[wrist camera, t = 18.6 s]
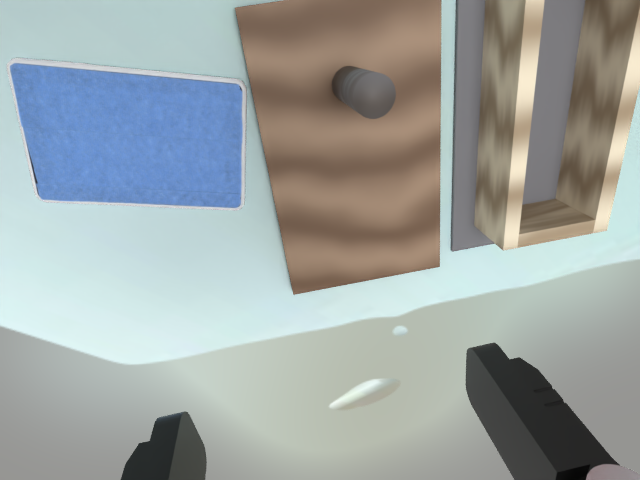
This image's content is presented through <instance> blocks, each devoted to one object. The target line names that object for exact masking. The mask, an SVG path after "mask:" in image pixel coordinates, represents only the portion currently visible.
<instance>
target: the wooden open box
mask: <svg viewBox="0 0 640 480" xmlns="http://www.w3.org/2000/svg"><path fill="white" fill-rule="evenodd" d="M544 1H545V0H485V17H484V37H483V57H482V77H481V98H480V118H479V138H478V158H477V178H476V199H475V219H474V226H475V227H476V228H477V229H479V230H480V231H481V232H482V233H483V234H484V235H486V236H487V237H488V238H489V239H490V240H491V241H493V242H494V243H495V244H496V245H497V246H498V247H500V248H501V249H502V250H508V249H513V248H519V247H524V246H529V245H534V244H539V243H545V242H550V241H555V240H560V239H565V238H571V237H576V236H581V235H586V234H591V233H597V232H602V231H607V228H608V223H609V219H610V214H611V210H612V205H613V201H614V197H615V192H616V188H617V183H618V179H619V174H620V170H621V165H622V161H623V157H624V152H625V148H626V143H627V139H628V134H629V130H630V126H631V121H632V117H633V112H634V108H635V103H636V99H637V94H638V90H639V86H640V0H585V6H584V13H583V20H582V26H581V33H580V39H579V46H578V53H577V59H576V66H575V73H574V79H573V86H572V92H571V99H570V106H569V112H568V119H567V126H566V132H565V139H564V145H563V152H562V159H561V165H560V172H559V179H558V185H557V192H556V198H555V199H551V200H546V201H540V202H535V203H530V204H524V205H522V202H523V193H524V184H525V174H526V165H527V156H528V147H529V138H530V129H531V120H532V111H533V101H534V92H535V83H536V74H537V65H538V56H539V47H540V38H541V28H542V19H543V10H544Z"/></svg>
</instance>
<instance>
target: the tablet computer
mask: <svg viewBox="0 0 640 480" xmlns="http://www.w3.org/2000/svg"><path fill="white" fill-rule="evenodd" d="M7 72H8V77H9V80H10V86H11V90H12V94H13V98H14V103H15V108H16V112H17V116H18V121H19V125H20V130H21V134H22V139H23V143H24V148H25V153H26V157H27V161H28V166H29V171H30V175H31V179H32V184H33V188H34V193H35V195H36V197H37V198H38V199H40V200H42V201H44V202H50V203H74V204H98V205H121V206H142V207H165V208H188V209H213V210H239V209H241V208H242V207H243V206H244V204H245V172H246V120H247V88H246V85H245V84H244V82H243V81H241V80H239V79H236V78H226V77H215V76H205V75H194V74H184V73H174V72H163V71H153V70H143V69H132V68H122V67H112V66H101V65H91V64H86V63H74V62H66V61H53V60H39V59H28V58H13V59H11V60H10V61H9V62H8V64H7Z"/></svg>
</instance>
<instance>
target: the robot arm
mask: <svg viewBox="0 0 640 480" xmlns="http://www.w3.org/2000/svg"><path fill="white" fill-rule="evenodd" d="M466 390H467V394H468V397H469V400H470V402H471V405H472V407H473V408H474V410H475V412H476V414H477V416H478V417H479V419H480V421H481V422H482V424H483V426H484V428H485V429H486V431H487V433H488V434H489V436H490V438H491V440H492V442H493V443H494V445H495V447H496V448H497V450H498V452H499V454H500V455H501V457H502V459H503V461H504V462H505V464H506V466H507V468H508V469H509V471H510V473H511V474H512V476H513V478H514V480H640V474H638V473H637V472H635V471H633V470H631V469H628V468H625V467H623V466H620V465H619V464H618V463H617V462H616V461H615V460H614V459H613V458H612V457H611V456H610V455H609V454H608V453H607V452H606V451H605V449H604V448H603V447H602V446H601V444H600V443H599V442H598V441H597V440H596V438H595V437H594V436H593V435H592V434H591V432H590V431H589V430H588V429H587V428H586V426H585V425H584V424H583V423H582V422H581V421H580V419H579V418H578V417H577V416H576V414H575V413H574V412H573V411H572V410H571V408H570V407H569V406H568V405H567V404H566V403H564V402H563V399H562V398H561V397H560V395H559V394H558V393H557V392H556V391H555V389H552V386H551V384H550V383H549V382H548V381H547V380H546V379H545V377H544V376H543V375H542V374H541V373H540V372H539V370H538V369H536V368H535V367H533V366H532V365H530V364H529V363H527V362H526V361H524V360H523V359H521V358H514V359H510V360H509V358H508V357H507V356H506V354H505V353H504V352H503V351H502V349H501V348H500V347H499V346H498V345H497V344H496V343H490V344H485V345H482V346H477V347H473V348H469V349H468V350H467V359H466ZM205 474H206V452H205V447H204V444H203V442H202V440H201V438H200V436H199V434H198V432H197V430H196V428H195V425H194V423H193V421H192V419H191V417H190V415H189V414H188V412H181V413H177V414H172V415H168V416H163V417H159V418H158V419H157V420H156V421H155V424H154V428H153V431H152V435H151V439H150V441H148V442H143V443H139V444H138V446H137V448H136V449H135V451H134V452H133V454H132V455H131V457H130V458H129V460H128V461H127V463H126V465H125V468H124V471H123V474H122V478H121V480H205Z"/></svg>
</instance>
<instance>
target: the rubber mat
mask: <svg viewBox="0 0 640 480" xmlns="http://www.w3.org/2000/svg"><path fill="white" fill-rule="evenodd" d="M584 6H585V0H545V1H544V10H543V19H542V28H541V38H540V47H539V56H538V65H537V74H536V83H535V92H534V101H533V111H532V120H531V129H530V138H529V147H528V156H527V165H526V174H525V184H524V193H523V202H522V205H524V204H530V203H535V202H540V201H546V200H551V199H555V198H556V192H557V185H558V179H559V172H560V165H561V159H562V152H563V145H564V139H565V132H566V126H567V119H568V112H569V106H570V99H571V92H572V86H573V79H574V73H575V66H576V59H577V53H578V46H579V39H580V33H581V26H582V20H583V13H584ZM484 17H485V0H456V37H455V83H454V129H453V175H452V222H451V251H452V252H453V251H458V250H463V249H468V248H474V247H479V246H484V245H489V244H495V243H494V242H493V241H491V240H490V239H489V238H488V237H487V236H486V235H484V234H483V233H482V232H481V231H480V230H479V229H477V228H476V227H475V226H474V219H475V199H476V178H477V158H478V138H479V118H480V98H481V77H482V57H483V37H484Z"/></svg>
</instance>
